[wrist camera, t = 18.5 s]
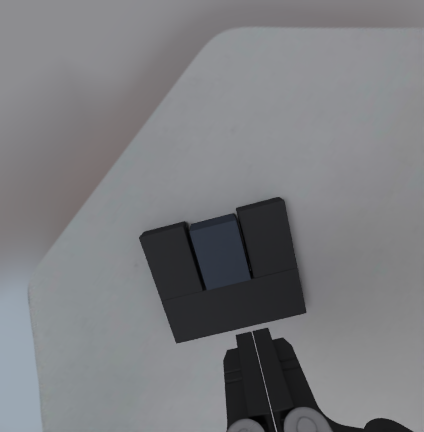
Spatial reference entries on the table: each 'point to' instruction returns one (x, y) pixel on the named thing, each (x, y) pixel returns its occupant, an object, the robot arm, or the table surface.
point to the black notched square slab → (231, 294)
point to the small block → (220, 251)
